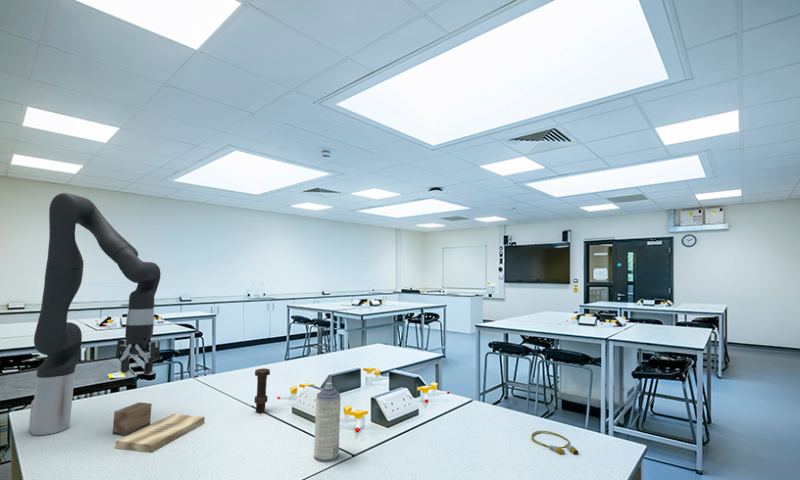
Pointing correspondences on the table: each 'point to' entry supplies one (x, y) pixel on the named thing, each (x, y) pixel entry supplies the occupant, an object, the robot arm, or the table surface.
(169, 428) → the pine board
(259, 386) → the bolt
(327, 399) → the aerosol can
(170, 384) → the table surface
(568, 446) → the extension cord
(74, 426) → the table surface
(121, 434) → the block
